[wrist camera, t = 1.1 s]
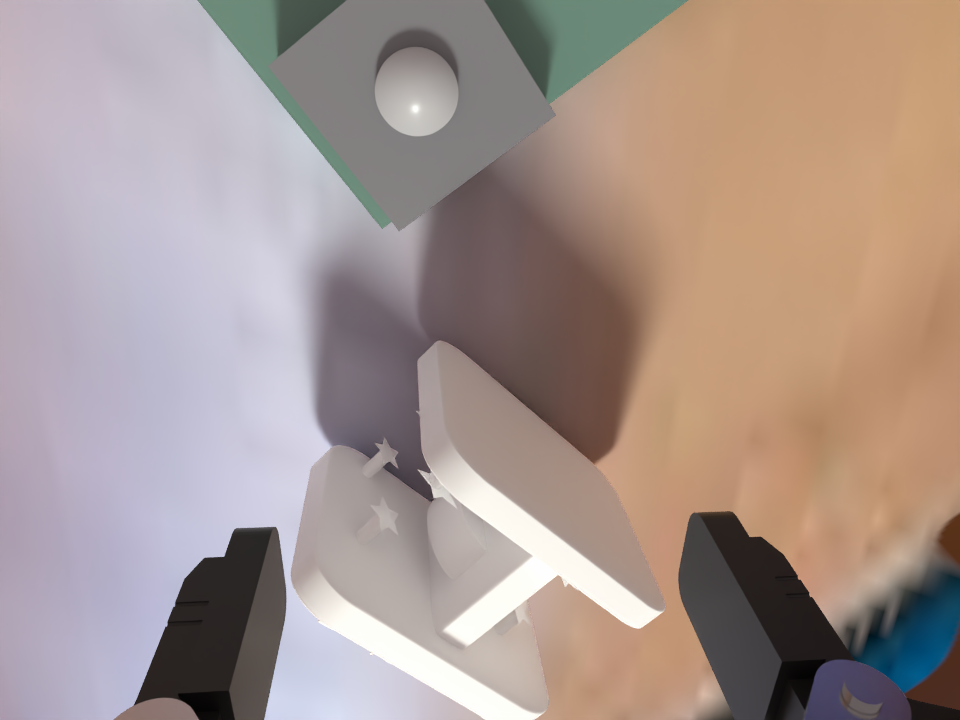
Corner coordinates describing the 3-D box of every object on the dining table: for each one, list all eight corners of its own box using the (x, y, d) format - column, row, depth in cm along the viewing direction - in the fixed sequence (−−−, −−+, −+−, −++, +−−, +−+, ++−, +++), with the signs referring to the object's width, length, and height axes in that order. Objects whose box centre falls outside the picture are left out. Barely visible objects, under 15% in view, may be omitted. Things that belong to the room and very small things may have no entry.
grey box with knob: (434, -69, 27) (438, -77, 25) (544, 107, 31) (558, 117, 28) (277, 61, 29) (265, 67, 26) (399, 215, 32) (399, 235, 29)
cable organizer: (620, 478, 42) (692, 633, 31) (494, 582, 44) (522, 756, 34) (437, 320, 36) (452, 446, 26) (304, 450, 39) (270, 612, 28)
